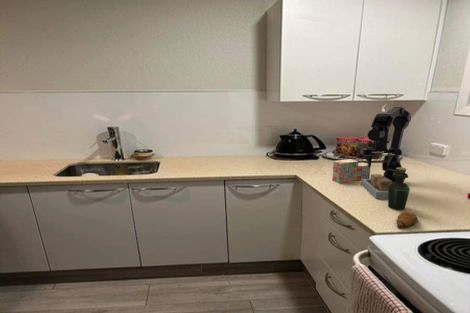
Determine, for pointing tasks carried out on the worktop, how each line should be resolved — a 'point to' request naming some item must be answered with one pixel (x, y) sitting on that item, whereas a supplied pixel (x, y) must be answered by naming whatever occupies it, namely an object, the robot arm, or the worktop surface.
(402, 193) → the potion bottle
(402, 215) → the croissant
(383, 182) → the board
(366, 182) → the frame
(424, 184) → the worktop surface
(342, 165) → the stack of blocks
